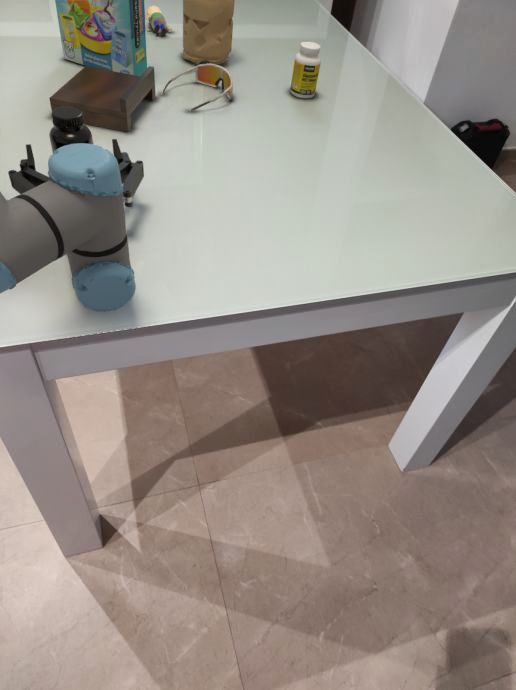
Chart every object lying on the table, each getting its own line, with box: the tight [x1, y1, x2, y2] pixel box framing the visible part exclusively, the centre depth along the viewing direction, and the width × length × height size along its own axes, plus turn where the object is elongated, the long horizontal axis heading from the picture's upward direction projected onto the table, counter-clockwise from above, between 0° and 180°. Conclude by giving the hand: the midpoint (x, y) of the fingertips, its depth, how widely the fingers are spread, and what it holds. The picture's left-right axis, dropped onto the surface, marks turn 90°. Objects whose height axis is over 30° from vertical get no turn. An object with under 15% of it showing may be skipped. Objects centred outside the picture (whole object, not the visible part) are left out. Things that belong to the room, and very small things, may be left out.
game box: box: [54, 0, 148, 76], centre depth 115 cm, size 20×6×27 cm, turn 65°
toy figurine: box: [145, 5, 173, 38], centre depth 144 cm, size 8×4×12 cm
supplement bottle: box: [48, 106, 94, 154], centre depth 87 cm, size 7×7×12 cm
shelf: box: [49, 65, 156, 133], centre depth 108 cm, size 16×18×6 cm
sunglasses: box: [160, 62, 234, 112], centre depth 118 cm, size 14×15×5 cm
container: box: [182, 0, 236, 65], centre depth 128 cm, size 13×13×18 cm
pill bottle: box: [289, 41, 322, 99], centre depth 123 cm, size 6×6×11 cm
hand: (73, 149), depth 86 cm, fingers open, 13 cm apart
